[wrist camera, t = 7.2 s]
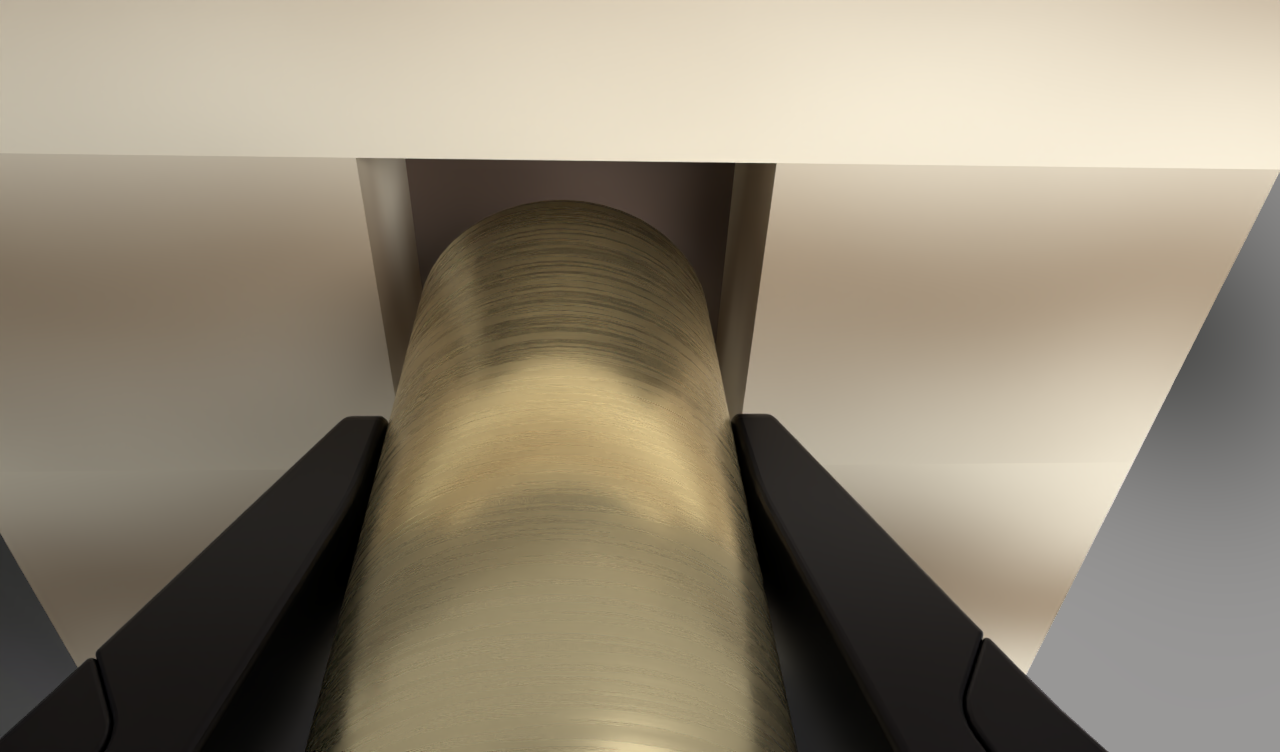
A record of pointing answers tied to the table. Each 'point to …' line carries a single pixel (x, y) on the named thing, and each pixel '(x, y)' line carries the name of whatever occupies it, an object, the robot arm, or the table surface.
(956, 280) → the jig plate
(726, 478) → the brass pin
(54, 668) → the table surface
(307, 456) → the robot arm
